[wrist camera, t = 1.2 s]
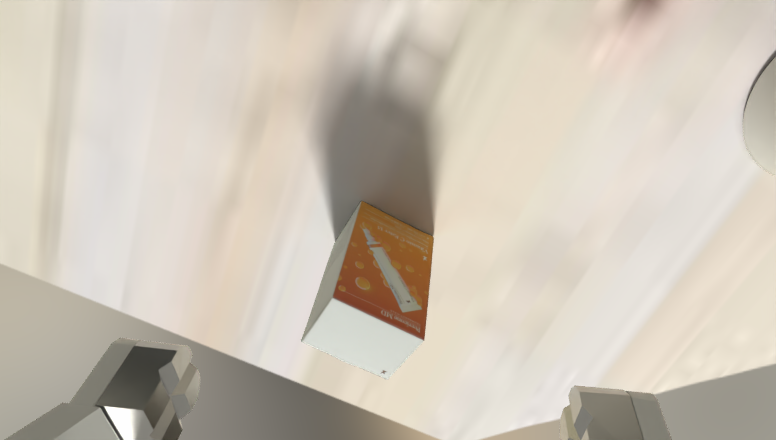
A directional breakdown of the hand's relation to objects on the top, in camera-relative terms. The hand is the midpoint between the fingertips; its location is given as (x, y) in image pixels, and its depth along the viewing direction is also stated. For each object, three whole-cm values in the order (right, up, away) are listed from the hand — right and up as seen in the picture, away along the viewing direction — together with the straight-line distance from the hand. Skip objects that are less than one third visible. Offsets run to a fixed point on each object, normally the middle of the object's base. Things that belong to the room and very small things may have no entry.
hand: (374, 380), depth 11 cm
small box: (0, +2, +39) cm, 39 cm away
